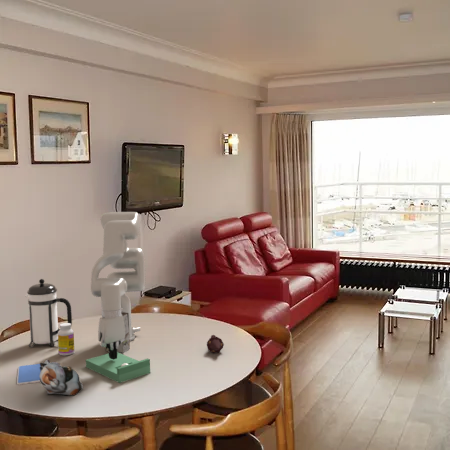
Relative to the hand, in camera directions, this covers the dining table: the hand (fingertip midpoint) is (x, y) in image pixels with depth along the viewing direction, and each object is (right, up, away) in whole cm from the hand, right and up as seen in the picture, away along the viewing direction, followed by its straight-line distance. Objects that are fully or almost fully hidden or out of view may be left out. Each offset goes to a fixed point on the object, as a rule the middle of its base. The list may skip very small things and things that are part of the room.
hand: (113, 358), depth 223 cm
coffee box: (-3, -2, +23) cm, 23 cm away
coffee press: (-36, -1, +33) cm, 49 cm away
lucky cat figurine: (-14, -7, -23) cm, 28 cm away
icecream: (+40, -2, +18) cm, 44 cm away
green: (+2, -4, -2) cm, 5 cm away
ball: (+5, -3, -5) cm, 8 cm away
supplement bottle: (-24, -3, +19) cm, 31 cm away
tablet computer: (-30, -6, -5) cm, 31 cm away
